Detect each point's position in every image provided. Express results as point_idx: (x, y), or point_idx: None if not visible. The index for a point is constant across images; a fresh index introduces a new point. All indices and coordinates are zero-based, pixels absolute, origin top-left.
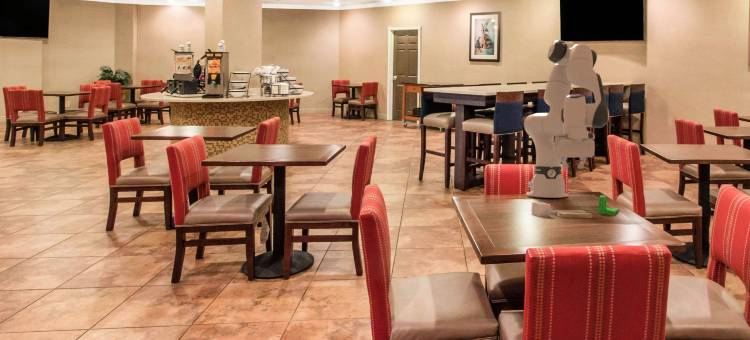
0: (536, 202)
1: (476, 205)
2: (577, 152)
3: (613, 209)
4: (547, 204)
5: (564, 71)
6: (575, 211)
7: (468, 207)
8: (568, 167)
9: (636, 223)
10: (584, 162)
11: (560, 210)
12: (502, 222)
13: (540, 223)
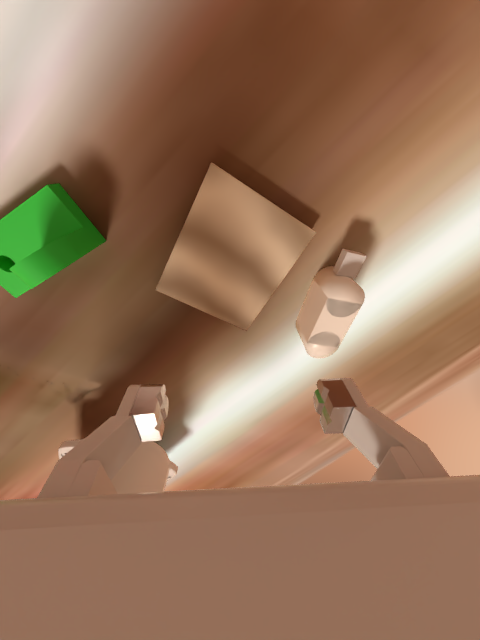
0: (325, 345)
1: (290, 464)
2: (252, 587)
3: (10, 237)
4: (352, 286)
5: None
6: (207, 268)
7: (333, 449)
8: (322, 385)
9: None
10: (95, 432)
11: (236, 308)
12: None
13: None
